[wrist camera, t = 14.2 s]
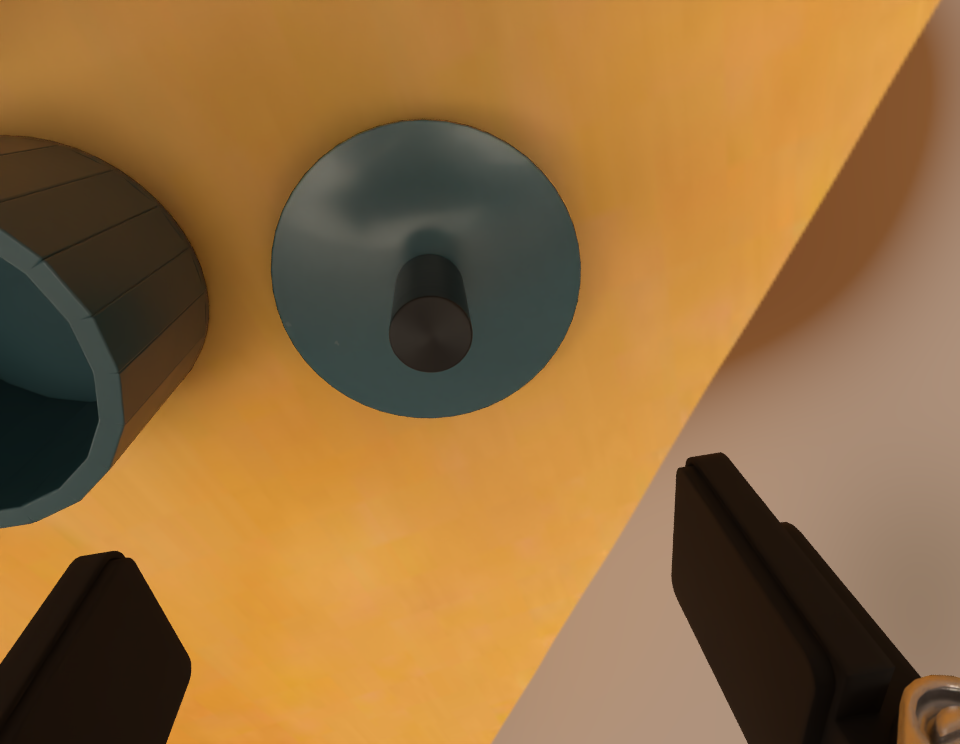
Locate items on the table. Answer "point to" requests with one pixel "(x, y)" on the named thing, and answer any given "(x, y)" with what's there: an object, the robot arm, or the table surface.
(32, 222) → the tin
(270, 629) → the table surface
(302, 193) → the tin lid
